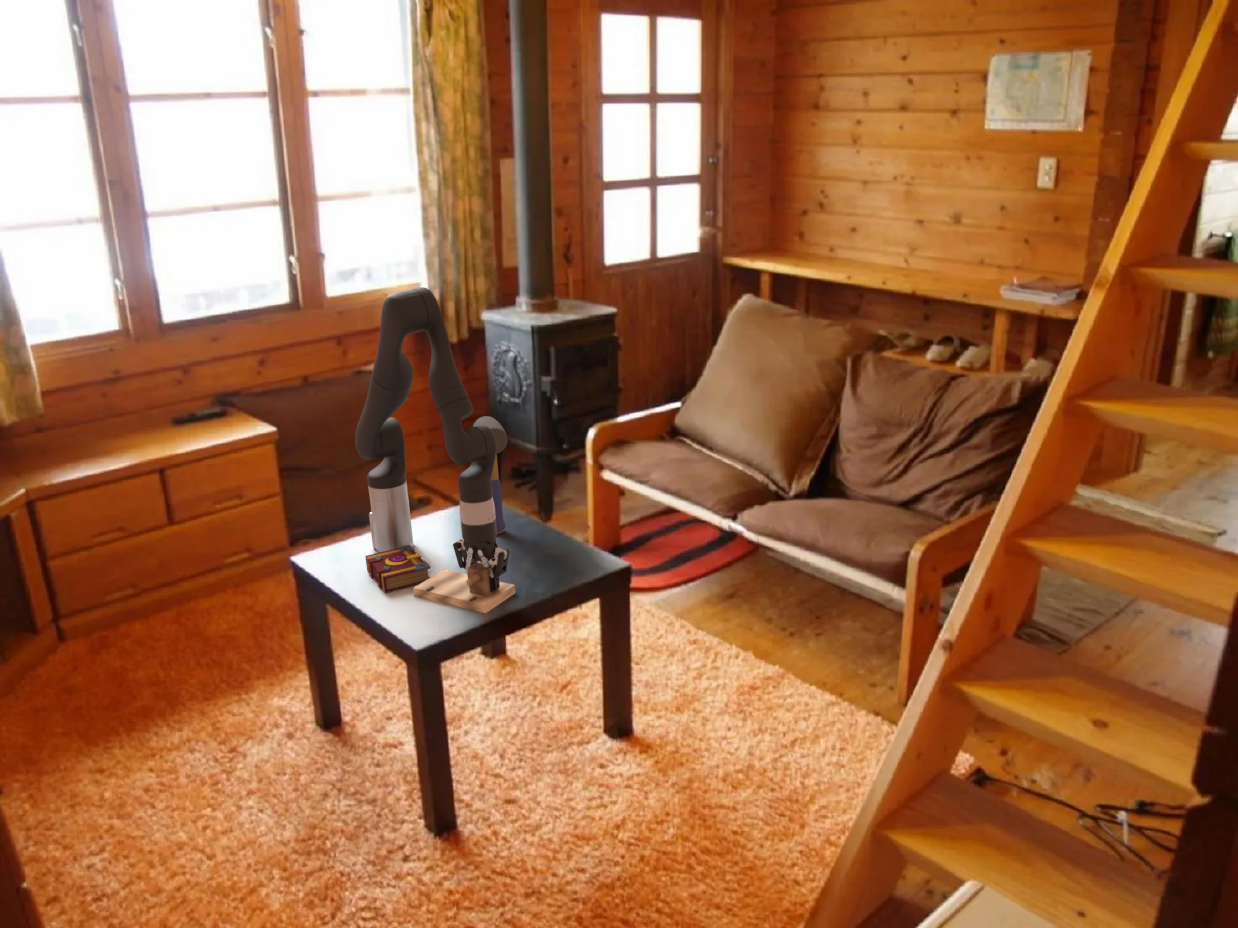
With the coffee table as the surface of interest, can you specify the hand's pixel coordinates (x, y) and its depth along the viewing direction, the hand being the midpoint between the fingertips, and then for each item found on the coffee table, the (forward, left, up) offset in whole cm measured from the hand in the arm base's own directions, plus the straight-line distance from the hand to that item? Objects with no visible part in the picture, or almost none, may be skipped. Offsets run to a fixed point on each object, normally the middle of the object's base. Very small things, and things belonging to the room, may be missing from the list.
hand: (484, 588), depth 231 cm
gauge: (0, 0, -1) cm, 1 cm away
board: (-6, 0, -3) cm, 6 cm away
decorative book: (-27, +1, -3) cm, 27 cm away
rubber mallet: (-21, +33, -3) cm, 39 cm away
